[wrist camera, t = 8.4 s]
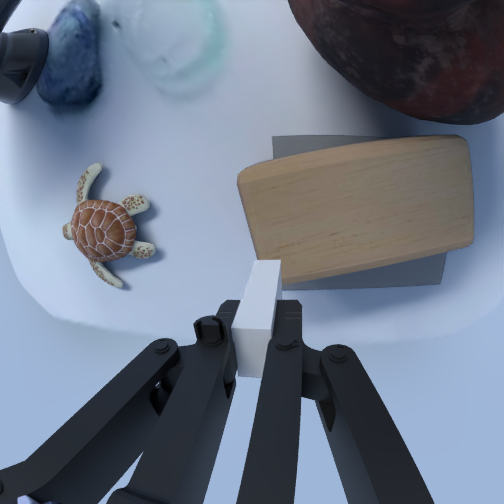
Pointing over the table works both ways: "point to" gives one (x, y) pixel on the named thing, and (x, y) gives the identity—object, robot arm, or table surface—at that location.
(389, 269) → the mat
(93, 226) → the decorative turtle
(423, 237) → the wooden block
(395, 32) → the jug
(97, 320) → the table surface
